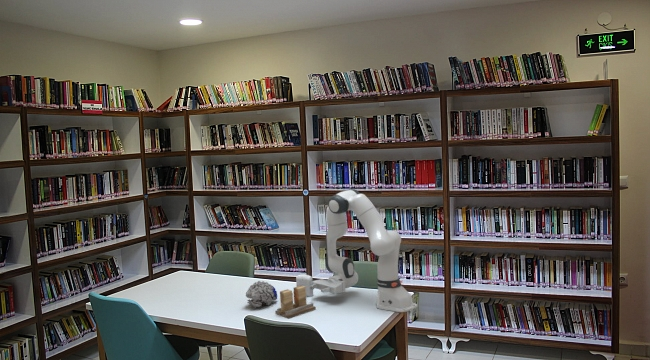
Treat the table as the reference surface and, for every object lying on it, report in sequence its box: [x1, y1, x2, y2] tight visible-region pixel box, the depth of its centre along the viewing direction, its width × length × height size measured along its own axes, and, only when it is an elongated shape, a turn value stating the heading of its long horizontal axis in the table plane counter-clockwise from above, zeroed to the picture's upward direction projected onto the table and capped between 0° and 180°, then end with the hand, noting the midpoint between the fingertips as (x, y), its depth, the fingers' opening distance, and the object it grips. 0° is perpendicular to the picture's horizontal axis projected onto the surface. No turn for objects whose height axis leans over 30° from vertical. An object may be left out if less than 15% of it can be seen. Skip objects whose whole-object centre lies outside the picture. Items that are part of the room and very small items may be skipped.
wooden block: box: [292, 286, 308, 308], centre depth 280 cm, size 4×6×11 cm
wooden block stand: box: [274, 288, 317, 319], centre depth 278 cm, size 12×18×12 cm, turn 131°
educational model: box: [245, 280, 278, 309], centre depth 292 cm, size 14×20×15 cm
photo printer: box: [295, 273, 314, 298], centre depth 306 cm, size 10×4×12 cm, turn 61°
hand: (316, 289), depth 287 cm, fingers open, 8 cm apart
